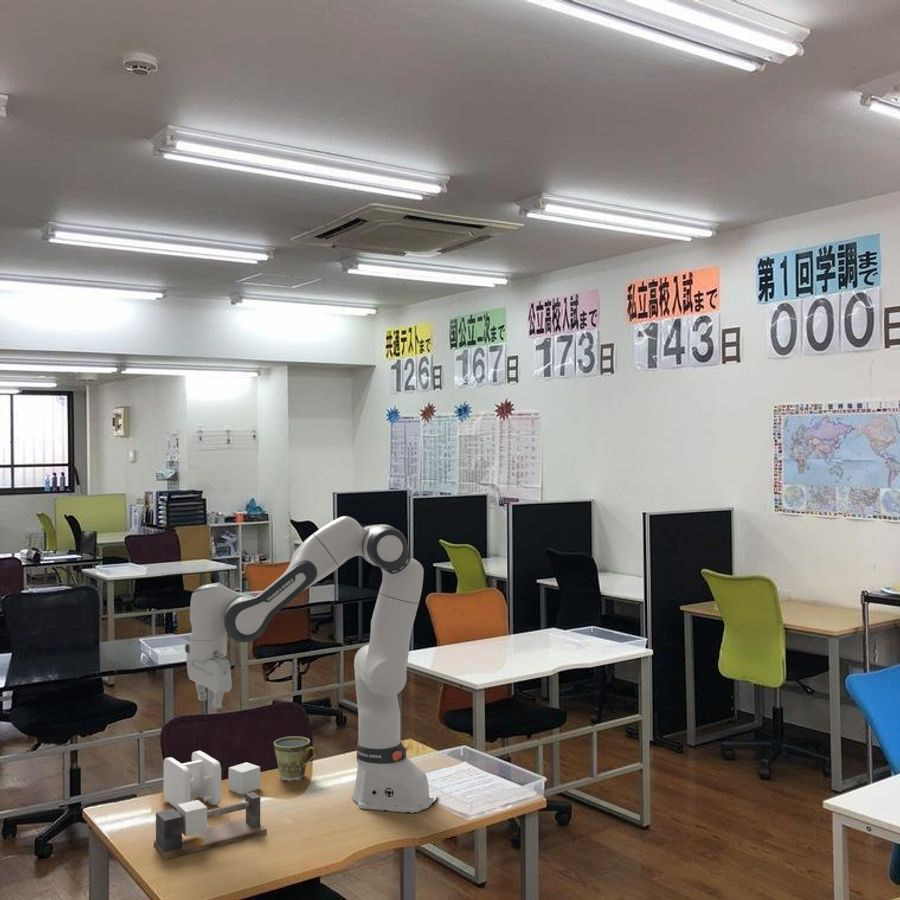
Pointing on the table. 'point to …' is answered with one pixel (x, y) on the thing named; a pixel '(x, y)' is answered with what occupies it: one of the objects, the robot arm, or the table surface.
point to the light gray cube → (244, 778)
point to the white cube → (193, 817)
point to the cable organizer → (192, 779)
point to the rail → (178, 844)
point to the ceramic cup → (292, 756)
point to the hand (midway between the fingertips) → (209, 703)
